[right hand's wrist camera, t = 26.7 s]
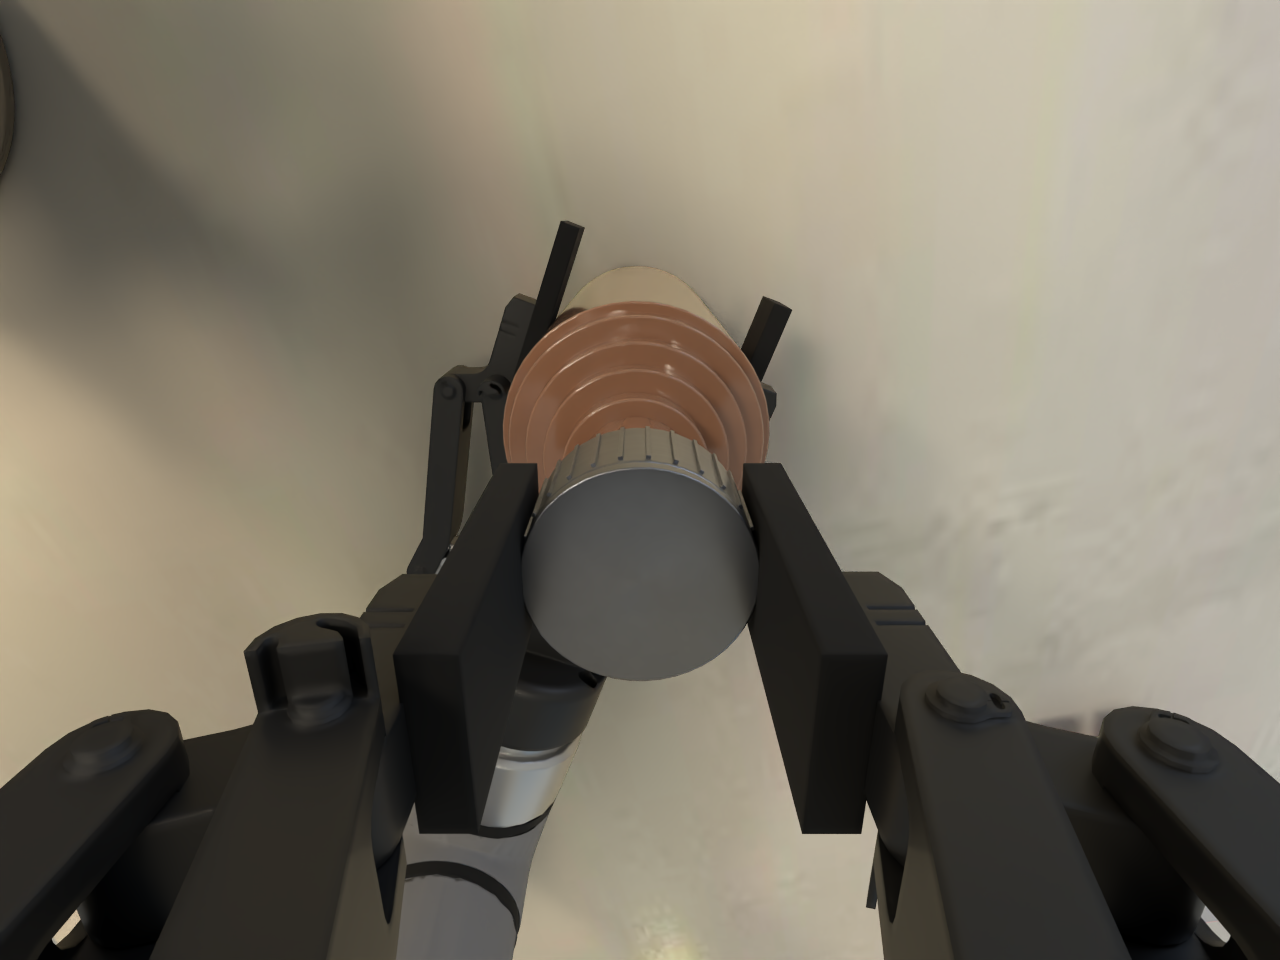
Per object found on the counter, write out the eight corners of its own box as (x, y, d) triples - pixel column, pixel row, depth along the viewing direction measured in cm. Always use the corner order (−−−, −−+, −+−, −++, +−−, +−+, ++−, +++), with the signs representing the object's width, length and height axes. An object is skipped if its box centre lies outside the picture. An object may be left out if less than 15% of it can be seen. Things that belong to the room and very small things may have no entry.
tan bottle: (587, 440, 38) (526, 707, 17) (536, 293, 35) (392, 399, 14) (731, 398, 37) (850, 624, 16) (691, 244, 34) (773, 282, 14)
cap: (744, 612, 15) (762, 679, 13) (545, 619, 15) (529, 688, 13) (746, 418, 14) (766, 458, 11) (524, 428, 14) (502, 470, 11)
